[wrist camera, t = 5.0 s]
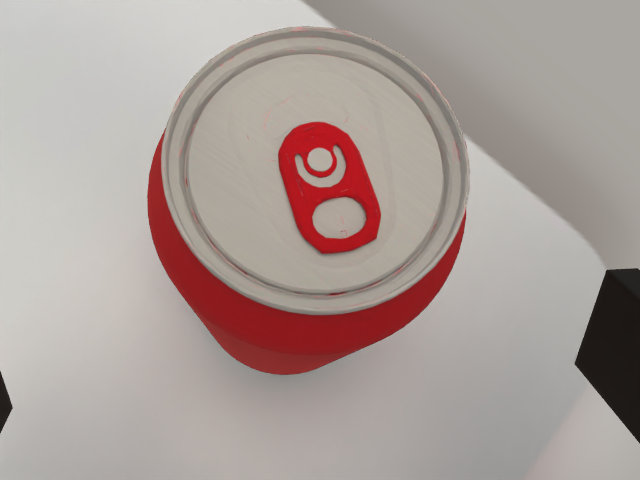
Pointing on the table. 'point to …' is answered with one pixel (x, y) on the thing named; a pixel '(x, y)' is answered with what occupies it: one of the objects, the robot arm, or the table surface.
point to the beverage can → (308, 196)
